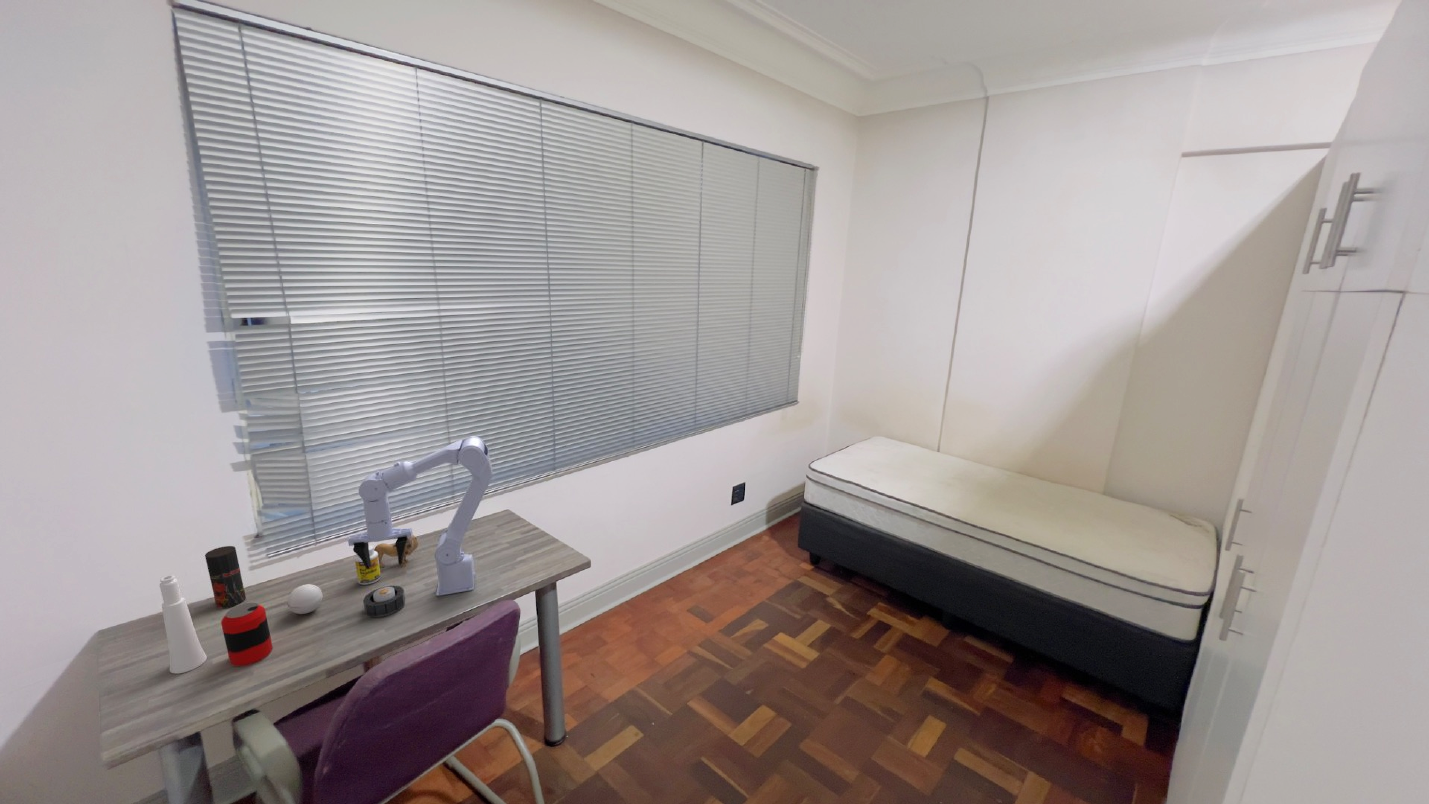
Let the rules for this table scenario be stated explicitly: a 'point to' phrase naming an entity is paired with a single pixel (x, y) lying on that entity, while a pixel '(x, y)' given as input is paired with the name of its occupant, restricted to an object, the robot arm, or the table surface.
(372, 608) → the dark grey round ring
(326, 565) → the table surface
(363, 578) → the supplement bottle
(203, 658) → the cosmetic bottle
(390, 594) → the boiled egg half
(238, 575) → the deodorant
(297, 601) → the white egg
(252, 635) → the soda can
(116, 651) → the table surface
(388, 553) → the lion figurine
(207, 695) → the table surface
